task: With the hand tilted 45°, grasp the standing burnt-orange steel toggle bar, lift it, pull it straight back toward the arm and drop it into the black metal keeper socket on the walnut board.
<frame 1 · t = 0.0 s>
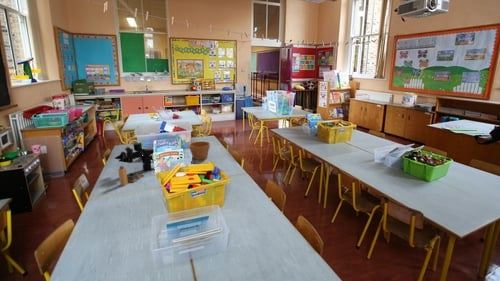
hand: (116, 159, 239), 17 cm above the table, tool horizontal, fingers open, 9 cm apart
keeper: (131, 179, 239), on the table
flower pot: (200, 157, 292), on the table
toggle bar: (124, 184, 230), on the table
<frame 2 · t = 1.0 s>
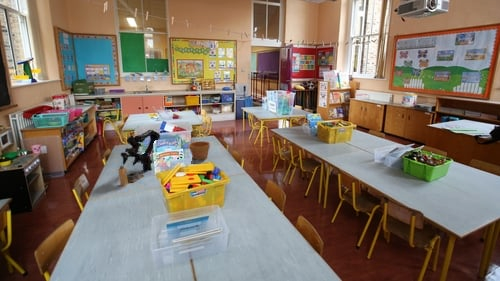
hand: (128, 165, 234), 14 cm above the table, tool tilted 45°, fingers open, 9 cm apart
nothing on the table moved.
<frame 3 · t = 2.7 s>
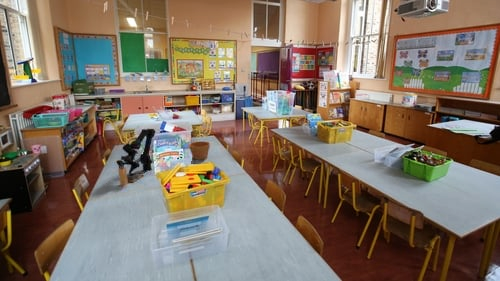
hand: (124, 173, 229), 9 cm above the table, tool tilted 45°, fingers open, 9 cm apart
nothing on the table moved.
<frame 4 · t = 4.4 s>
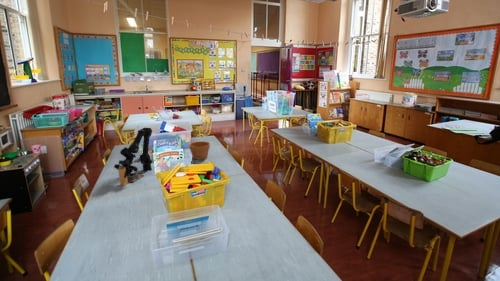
hand: (122, 177, 227), 7 cm above the table, tool tilted 45°, fingers closed on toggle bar, 4 cm apart
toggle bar: (124, 184, 230), on the table, touching gripper
everything else where it was.
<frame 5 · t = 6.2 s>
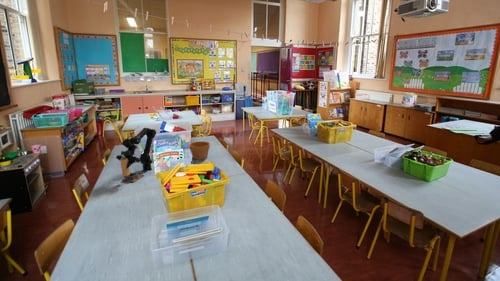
hand: (124, 168, 229), 13 cm above the table, tool tilted 45°, fingers closed on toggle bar, 4 cm apart
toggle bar: (126, 174, 232), point 7 cm above the table, touching gripper
everything else where it was.
when the fingers open (9 cm above the table, at t = 8.4 s): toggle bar drops 1 cm, resting on keeper.
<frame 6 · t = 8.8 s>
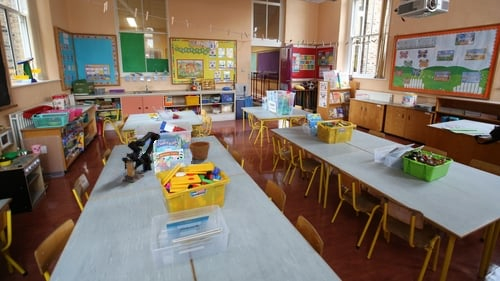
hand: (129, 169, 235), 9 cm above the table, tool tilted 45°, fingers open, 8 cm apart
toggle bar: (131, 178, 239), point 1 cm above the table, touching keeper
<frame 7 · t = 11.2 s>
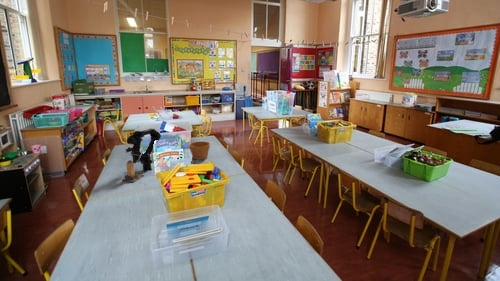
hand: (134, 163, 243), 12 cm above the table, tool tilted 25°, fingers open, 9 cm apart
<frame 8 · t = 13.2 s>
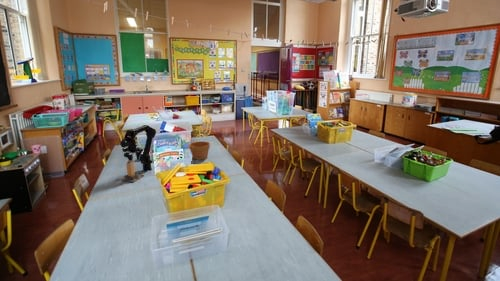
hand: (134, 161, 244), 13 cm above the table, tool pointing down, fingers open, 9 cm apart
at the end: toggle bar 0.0 cm off-centre on the keeper, point 1.2 cm above the keeper's base; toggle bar tilted 0°; the gripper is holding nothing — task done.
